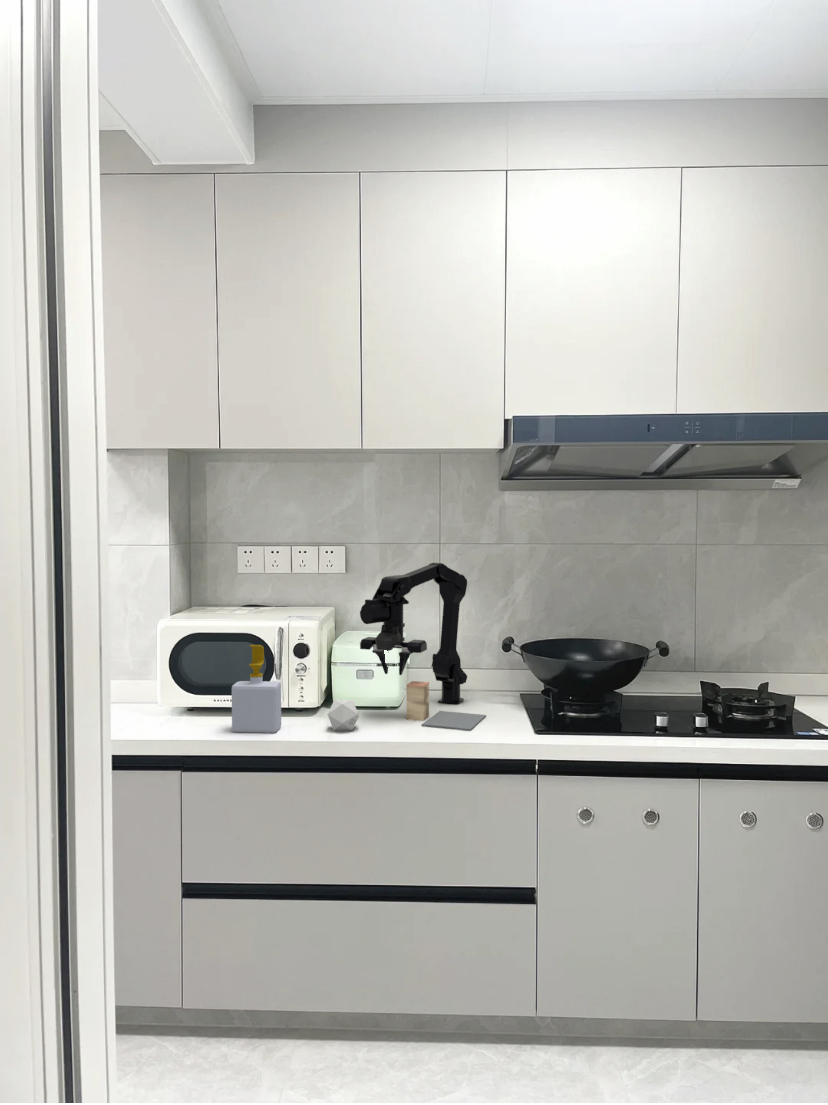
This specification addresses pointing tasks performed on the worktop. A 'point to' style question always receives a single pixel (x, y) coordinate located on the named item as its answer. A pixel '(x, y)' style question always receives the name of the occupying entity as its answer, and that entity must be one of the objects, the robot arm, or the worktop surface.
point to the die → (343, 715)
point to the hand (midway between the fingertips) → (393, 674)
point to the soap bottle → (256, 700)
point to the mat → (454, 720)
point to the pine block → (417, 700)
